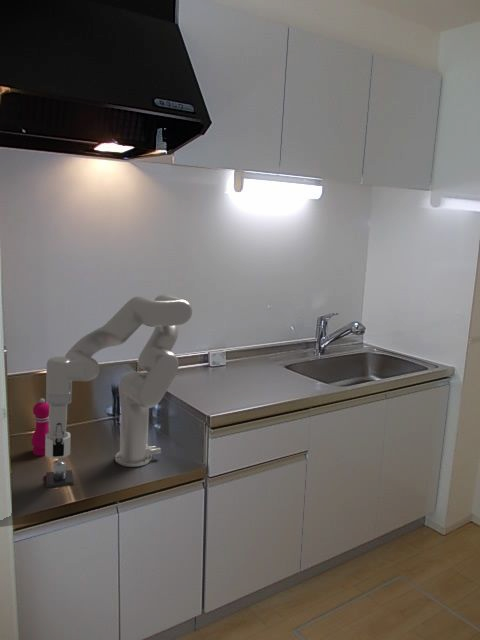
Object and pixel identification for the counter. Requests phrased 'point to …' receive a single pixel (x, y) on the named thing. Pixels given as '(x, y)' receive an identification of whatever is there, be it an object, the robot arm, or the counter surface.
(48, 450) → the white hollow octagonal tube
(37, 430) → the pepper mill
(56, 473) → the duct stub
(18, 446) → the counter surface
